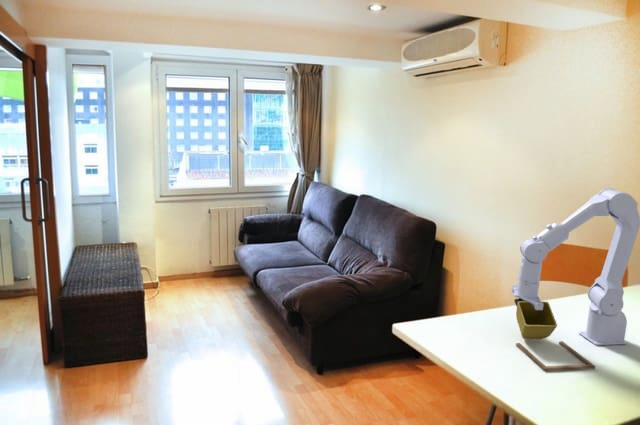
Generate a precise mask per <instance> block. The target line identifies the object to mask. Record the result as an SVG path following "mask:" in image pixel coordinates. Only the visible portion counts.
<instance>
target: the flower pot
mask: <svg viewBox="0 0 640 425" xmlns="http://www.w3.org/2000/svg"><path fill="white" fill-rule="evenodd" d="M541 302H542V303H543V304H544V305H543V310H535V307H534V306H532V305H531V304H532V303H529V302H527V301H519V302H518V304H517V306H516V312H515V315H516V318H515V319H516V321H517V324H518V327H519V331H520V333H521V337H522V339H523V340H544V339H547V338H548V337H550V336H551V335H552V334H553V332H554V331H555V330H556V328H558V323H557V320H556V319H555V318H556V317H555V315H554V313H553V310H552V308H551V304H550V303H549V302H548V301H541Z"/></svg>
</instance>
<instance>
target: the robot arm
mask: <svg viewBox="0 0 640 425" xmlns="http://www.w3.org/2000/svg"><path fill="white" fill-rule="evenodd" d="M638 205H639V203H638V201H636V200H635V199H634V197H633V196H632V195H631V194H630V193H628V192H627V193H626V192H622V191H619V190H617V189H615V188H611V187H610V188H609V187H608V188H605V189H602V190H600V191H599V193H596V194H595V195H594V194H593V196H592V197H591V198H590V199H589V200H588V201H587V202H586V203H584V204H583V205H581V206H580V207H579V208H578V209H577V210H575V211H574V212H573V213H572V214H571V215H569V216H568V217H566V219H564V220H563V221H562V222H560V223H557V222H553V223H552V224H550V223H548V224H547V225H546V226H545V229H544V230H542V231H541V232H540V233H538V234H537V235H533V236H531V238H530V239H526V240H525V241H523V243H522V244H521V245H520V246H519V250H520V253H521V254H522V255H521V261H520V265H519V274H518V282H517V285H511V289H510V292H511V293H512V296H513V297H514V298H515V299H514V300H513V301H514V303H515V306H516V307H517V304H518V302H519V301H527V302H529V303H532V304H531V305H532V306H534V307H535V310H543V305H544V304H543V303H542V302H543V301H542V300H541V299H540V297H539V290H540V288H539V287H540V282H541V274H542V268H543V267H542V266H543V261H545V260H546V258H547V256H548V253H550V252H551V251H553V250H554V249H555V248H557V247H559V246H560V245H561V244H562V243H564V242H566V241H567V240H568V239H569V235H570V233H571V232H573V230H574V231H575V229H577V228H579V227H580V226H582V225H583V224H585V223H587V222H588V221H590V220H591V219H593V218H595V217H608V216H610V217H611V218H612V219H613V221H614V223H616V227H615V230H614V232H613V236H612V239H611V242H610V245H609V249H608V252H607V254H606V257H605V261H604V265H603V268H602V270H601V274H600V276H598V277H596V278H595V280H594V283H593V284H592V285H591V286H590V288H588V291H587V296H588V299H589V300H590V305H589V309H588V314H587V316H588V317H587V324H586V331H578V334H579V335H581V336H582V337H583V338H585V339H587V341H589V342H591V343H592V344H594V345H595V346H609V345H610V346H611V345H613V346H614V345H615V346H616V345H626V344H627V342H626V341H625V338H626V331H627V324H628V321H627V320H628V319H627V316H626V315H625V313H624V312H623V311H622V310H623V308H624V300H623V299H624V298H623V297H624V293H625V292H624V287H623V280H624V276H625V274H626V271H627V267H628V264H629V261H630V257H631V255H632V252H633V250H634V249H633V248H634V245H635V243H636V240H637V236H638V234H639V231H640V213H639V211H638V210H639V209H638Z"/></svg>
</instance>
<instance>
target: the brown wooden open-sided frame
mask: <svg viewBox="0 0 640 425" xmlns="http://www.w3.org/2000/svg"><path fill="white" fill-rule="evenodd" d="M558 345H559V346H561V347H562V348H563V349H564V350H566V351H567V352H569V353H570V354H571V355H573V356H574V357H575V358H577V360H579V361H580V362H581V363H583V364H563V365H545V364H544V363H543V362H542V361H541V360H539V359H538V358H537V357H536V356H535V355H534V354H533V353H531V352H530V351H529V350H528V349H527V348H526V347H525V346H524V345H523V344H521V343H520V342H517V343H515V346H516V347H517V348H518V349H519V350H520V351H521V353H523V354H525V355H526V356H527V358H529V359H530V360H531V361H532V362H533V363H534V364H535V365H536V366H538V367H539V369H541V370H542V371H543V372H553V371H557V372H559V371H579V370H595V369H596V365H595V364H593V363H592V362H591V361H590V360H588V359H587V358H585V357H584V356H583V355H581V354H580V353H579V352H578V351H576V350H575V349H573V348H572V347H570V345H568V344H567V343H566V342H564V341H563V340H562V341H561V340H560V341H558Z"/></svg>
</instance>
